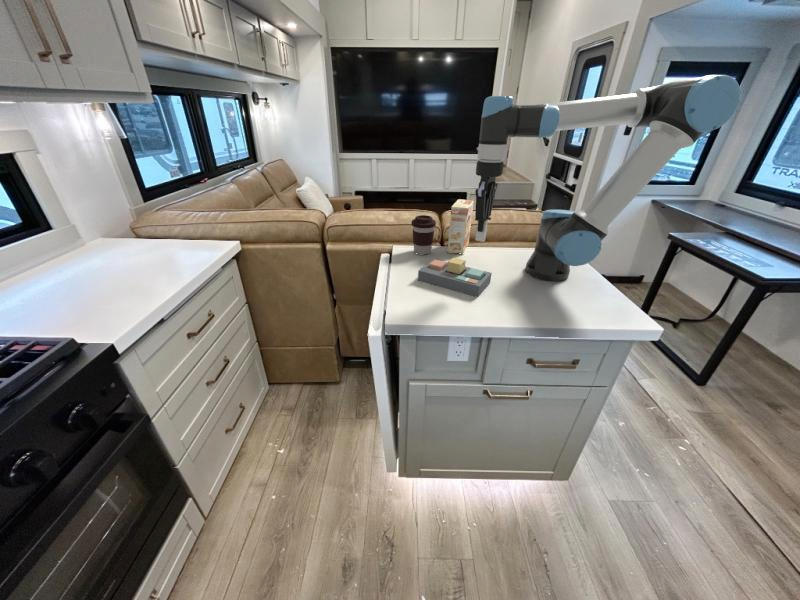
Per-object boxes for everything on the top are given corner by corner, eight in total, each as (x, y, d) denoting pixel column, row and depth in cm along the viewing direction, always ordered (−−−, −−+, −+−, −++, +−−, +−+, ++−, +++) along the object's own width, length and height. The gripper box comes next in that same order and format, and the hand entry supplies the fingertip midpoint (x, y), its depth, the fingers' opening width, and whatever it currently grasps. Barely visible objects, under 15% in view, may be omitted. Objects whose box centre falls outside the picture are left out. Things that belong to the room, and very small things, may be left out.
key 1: (446, 271, 117) (446, 262, 115) (440, 275, 114) (441, 266, 112) (434, 268, 119) (435, 259, 118) (428, 272, 116) (429, 263, 114)
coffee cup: (412, 247, 143) (412, 213, 135) (434, 248, 142) (436, 214, 134) (409, 255, 134) (410, 220, 127) (433, 257, 133) (435, 221, 126)
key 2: (483, 280, 111) (484, 271, 109) (478, 285, 107) (479, 276, 106) (470, 277, 113) (471, 268, 111) (465, 282, 110) (466, 272, 108)
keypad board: (490, 283, 113) (491, 271, 111) (477, 297, 104) (479, 285, 102) (433, 268, 123) (434, 258, 121) (417, 280, 114) (418, 269, 112)
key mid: (464, 269, 113) (465, 260, 111) (459, 274, 109) (460, 264, 108) (452, 266, 115) (453, 257, 113) (447, 271, 112) (447, 261, 110)
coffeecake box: (463, 255, 135) (468, 208, 126) (446, 252, 138) (450, 206, 128) (469, 243, 148) (474, 200, 138) (453, 241, 150) (457, 198, 140)
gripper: (485, 157, 98) (476, 233, 109) (469, 162, 88) (461, 244, 100) (510, 159, 94) (498, 236, 106) (496, 164, 85) (484, 249, 96)
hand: (480, 240), depth 103 cm, fingers closed
